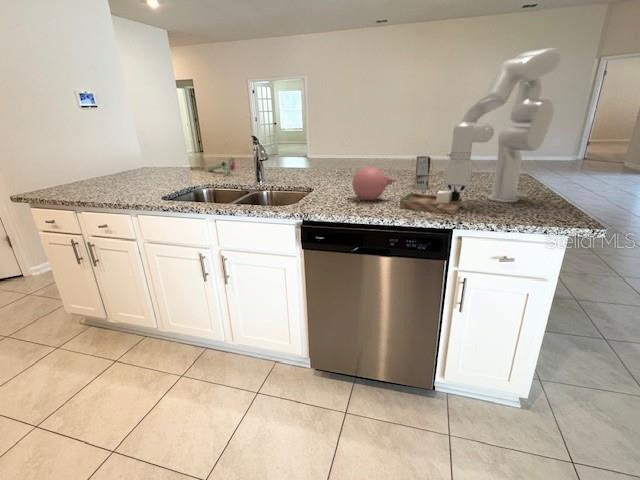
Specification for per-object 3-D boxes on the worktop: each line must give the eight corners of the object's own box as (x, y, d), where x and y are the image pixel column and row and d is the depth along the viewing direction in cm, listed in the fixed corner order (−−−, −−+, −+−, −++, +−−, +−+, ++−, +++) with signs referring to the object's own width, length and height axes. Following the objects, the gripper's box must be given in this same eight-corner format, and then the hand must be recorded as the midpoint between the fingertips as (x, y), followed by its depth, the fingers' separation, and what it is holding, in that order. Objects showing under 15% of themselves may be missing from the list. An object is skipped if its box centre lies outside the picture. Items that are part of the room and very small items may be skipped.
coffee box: (428, 189, 177) (431, 158, 171) (415, 189, 178) (417, 157, 173) (426, 185, 186) (429, 155, 180) (414, 185, 187) (416, 155, 181)
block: (450, 200, 146) (451, 191, 145) (448, 203, 142) (449, 194, 141) (438, 199, 149) (439, 190, 147) (436, 202, 145) (437, 192, 143)
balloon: (393, 205, 149) (395, 170, 143) (349, 203, 154) (349, 169, 149) (396, 197, 163) (398, 164, 157) (355, 195, 168) (355, 164, 163)
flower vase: (216, 181, 252) (244, 175, 229) (201, 178, 243) (229, 172, 220) (217, 165, 253) (244, 157, 229) (201, 162, 244) (229, 154, 220)
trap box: (460, 205, 146) (462, 195, 144) (453, 214, 134) (454, 203, 132) (410, 200, 156) (411, 190, 155) (399, 208, 145) (400, 197, 143)
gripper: (439, 156, 136) (434, 200, 143) (479, 158, 129) (472, 205, 135) (443, 154, 142) (438, 197, 149) (481, 156, 135) (475, 200, 141)
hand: (454, 200), depth 142 cm, fingers closed
